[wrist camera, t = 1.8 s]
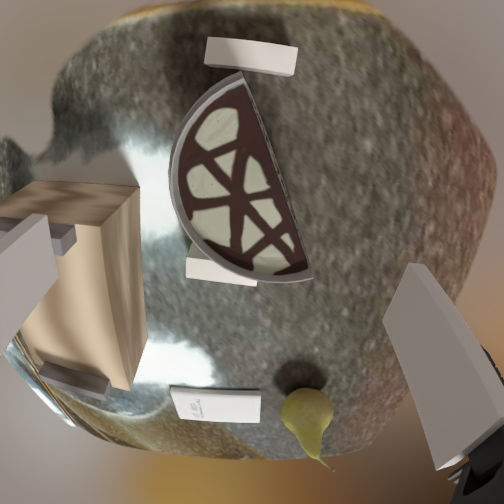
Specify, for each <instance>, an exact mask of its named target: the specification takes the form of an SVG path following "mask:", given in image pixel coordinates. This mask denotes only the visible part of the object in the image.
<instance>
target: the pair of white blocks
mask: <svg viewBox="0 0 504 504" xmlns="http://www.w3.org/2000/svg"><path fill="white" fill-rule="evenodd" d="M297 52H298V48H295V47H290V46H285V45H279V44H272V43H266V42H259V41H251V40H242V39H232V38H220V37H208V39H207V45H206V52H205V59H204V64H206V65H207V66H209V67H217V68H228V69H238V70H246V71H254V72H261V73H268V74H275V75H281V76H287V77H290V76H292V75H294V70H295V64H296V58H297ZM186 277H187V278H194V279H202V280H209V281H217V282H225V283H233V284H241V285H249V286H256V285H257V281H255V280H251V279H248V278H245V277H242V276H239V275H236V274H234V273H232V272H230V271H228V270H226V269H224V268H222V267H221V266H219V265H218V264H216V263H215V262H213V261H212V260H210V259H209V258H208V257H207V256H206V255H205V254H204V253H203V252H201V251H200V250H199V249H198V247H197V246H196V245H195V244H194V243H193V241H192V244H191V246H190V249H189V252H188V255H187V259H186Z"/></svg>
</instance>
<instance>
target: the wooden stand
mask: <svg viewBox="0 0 504 504" xmlns="http://www.w3.org/2000/svg"><path fill="white" fill-rule="evenodd" d="M33 213H34V214H43V215H47V217H48V224H49V230H50V236H51V242H52V247H53V253H54V257H55V262H56V267H57V271H58V276H59V278H58V279H57V280H56V282H55V283H54V284H53V285H52V287H51V288H50V289H49V290H48V292H47V293H46V294H45V295H44V297H43V298H42V299H41V301H40V302H39V303H38V304H37V306H36V307H35V308H34V310H33V311H32V312H31V314H30V315H29V316H28V318H27V319H26V321H25V322H24V323H23V325H22V326H21V328H20V332H21V334H22V336H23V338H24V340H25V343H26V345H27V347H28V349H29V351H30V353H31V355H32V357H33V359H34V361H35V363H36V364H39V365H41V366H42V368H41V370H40V371H39V373H38V375H39V377H40V379H41V380H42V381H43V382H46V383H49V384H52V385H54V386H57V387H60V388H63V389H66V390H69V391H72V392H76V393H79V394H82V395H85V396H89V397H92V398H96V399H99V400H103V401H107V398H108V396H109V393H110V390H111V387H115V388H120V389H124V390H128V391H130V390H131V386H132V383H133V380H134V377H135V374H136V371H137V368H138V365H139V362H140V359H141V356H142V353H143V350H144V347H145V344H146V341H147V339H148V332H147V323H146V313H145V302H144V291H143V277H142V261H141V238H140V187H132V186H119V185H106V184H91V183H74V182H54V181H33V182H32V183H30V184H28V185H27V186H25V187H23V188H22V189H20V190H18V191H17V192H15V193H14V194H12V195H10V196H9V197H7V198H6V199H4V200H3V201H1V202H0V239H1V238H2V237H3V236H5V235H6V234H7V233H8V232H9V231H11V230H12V229H13V228H14V227H16V226H17V225H18V224H19V223H21V222H22V221H23V220H25V219H26V218H27V217H29V216H30V215H31V214H33Z"/></svg>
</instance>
